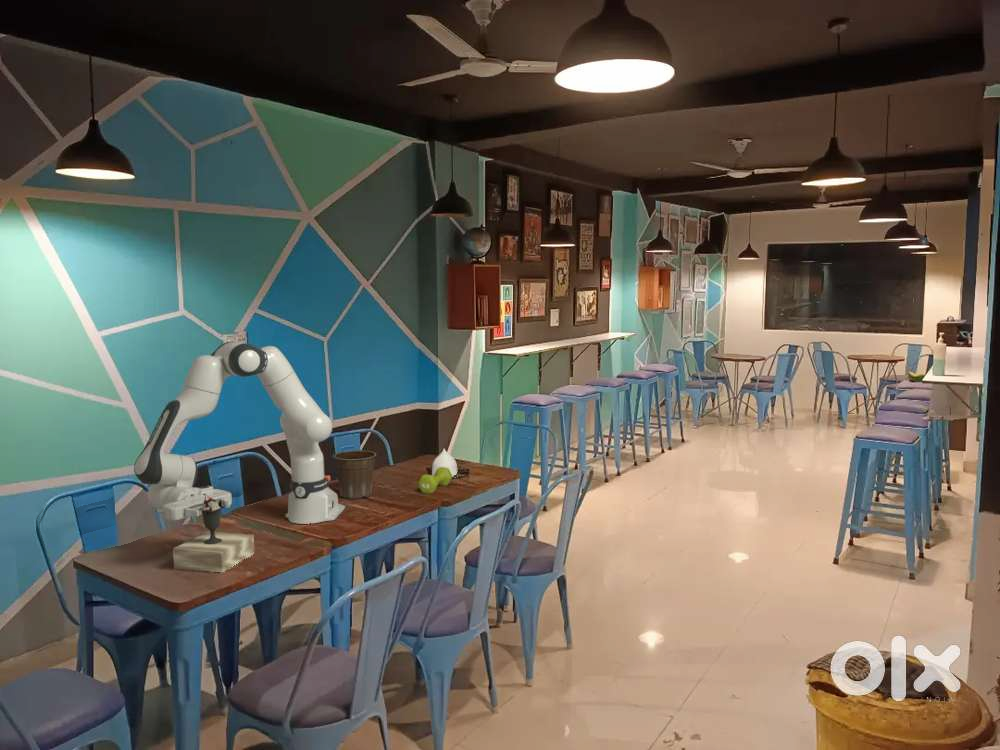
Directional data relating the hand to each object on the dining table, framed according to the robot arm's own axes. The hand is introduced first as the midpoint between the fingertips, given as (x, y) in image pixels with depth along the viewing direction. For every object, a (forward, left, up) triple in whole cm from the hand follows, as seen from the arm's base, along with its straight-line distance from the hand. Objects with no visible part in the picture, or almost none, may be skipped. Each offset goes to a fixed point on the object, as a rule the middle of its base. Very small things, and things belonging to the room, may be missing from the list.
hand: (213, 509), depth 220 cm
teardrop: (-111, +33, -16) cm, 117 cm away
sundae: (0, -1, -10) cm, 10 cm away
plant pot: (-75, +9, -16) cm, 78 cm away
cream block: (0, -1, -16) cm, 16 cm away
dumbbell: (-90, +37, -16) cm, 99 cm away
